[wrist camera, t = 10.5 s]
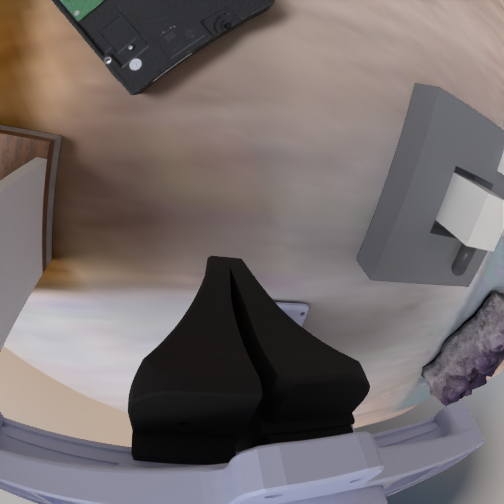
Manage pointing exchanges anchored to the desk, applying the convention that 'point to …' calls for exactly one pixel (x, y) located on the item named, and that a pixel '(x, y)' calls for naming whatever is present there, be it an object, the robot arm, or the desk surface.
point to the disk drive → (153, 32)
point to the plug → (471, 218)
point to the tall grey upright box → (24, 215)
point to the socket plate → (430, 190)
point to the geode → (469, 354)
